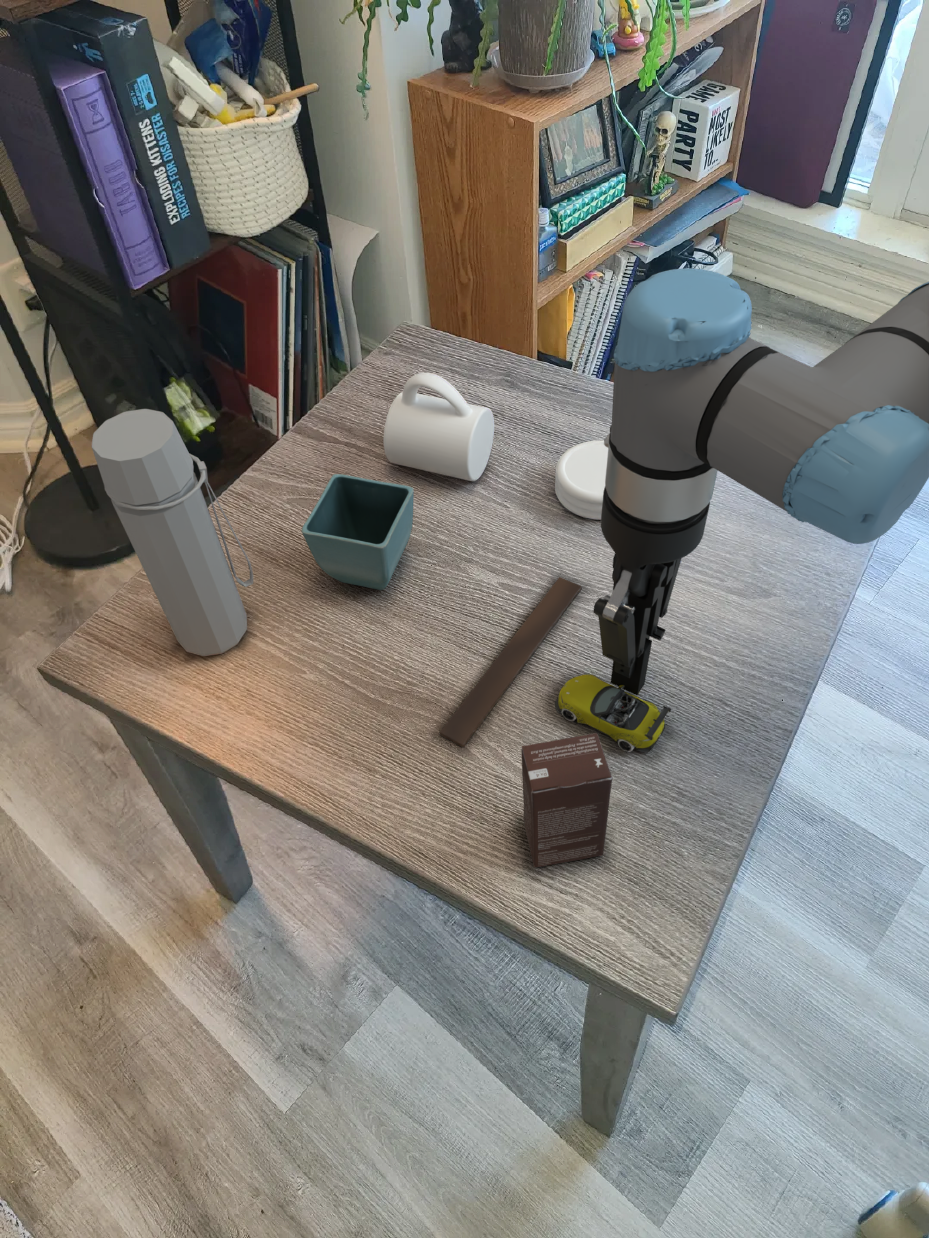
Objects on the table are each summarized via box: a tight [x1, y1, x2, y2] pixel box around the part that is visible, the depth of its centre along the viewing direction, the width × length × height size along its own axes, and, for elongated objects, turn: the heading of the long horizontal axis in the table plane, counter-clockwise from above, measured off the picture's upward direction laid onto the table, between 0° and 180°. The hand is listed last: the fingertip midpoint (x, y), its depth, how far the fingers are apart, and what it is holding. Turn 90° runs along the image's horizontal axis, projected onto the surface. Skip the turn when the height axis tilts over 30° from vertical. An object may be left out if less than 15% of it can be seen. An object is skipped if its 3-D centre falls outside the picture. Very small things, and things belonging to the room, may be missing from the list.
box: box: [521, 732, 613, 868], centre depth 69 cm, size 6×4×12 cm
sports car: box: [554, 673, 672, 754], centre depth 80 cm, size 5×10×3 cm, turn 55°
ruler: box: [438, 576, 583, 748], centre depth 86 cm, size 3×22×1 cm, turn 147°
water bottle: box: [91, 408, 254, 657], centre depth 81 cm, size 9×8×25 cm
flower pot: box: [301, 473, 415, 591], centre depth 91 cm, size 9×9×9 cm
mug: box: [382, 372, 495, 482], centre depth 100 cm, size 8×10×12 cm
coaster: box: [554, 439, 608, 521], centre depth 99 cm, size 10×10×4 cm
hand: (627, 683), depth 82 cm, fingers closed
